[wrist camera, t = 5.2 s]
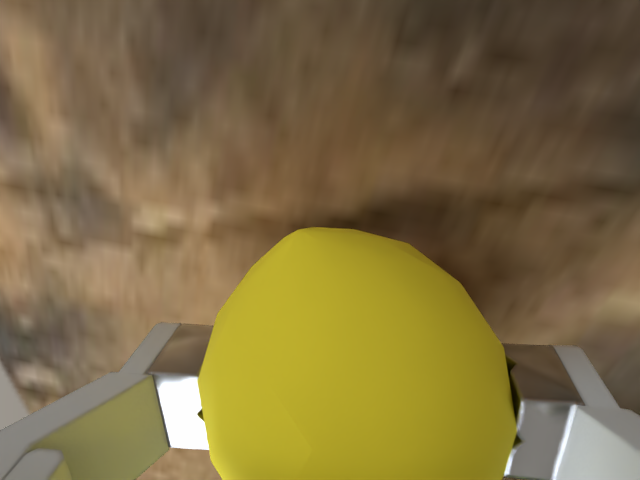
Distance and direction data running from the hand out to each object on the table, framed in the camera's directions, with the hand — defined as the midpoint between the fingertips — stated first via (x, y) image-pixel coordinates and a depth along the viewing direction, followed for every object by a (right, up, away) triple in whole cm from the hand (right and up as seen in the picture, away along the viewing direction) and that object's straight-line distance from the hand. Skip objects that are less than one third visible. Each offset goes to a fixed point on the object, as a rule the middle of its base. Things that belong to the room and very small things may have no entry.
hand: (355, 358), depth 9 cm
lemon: (0, +1, +2) cm, 2 cm away
